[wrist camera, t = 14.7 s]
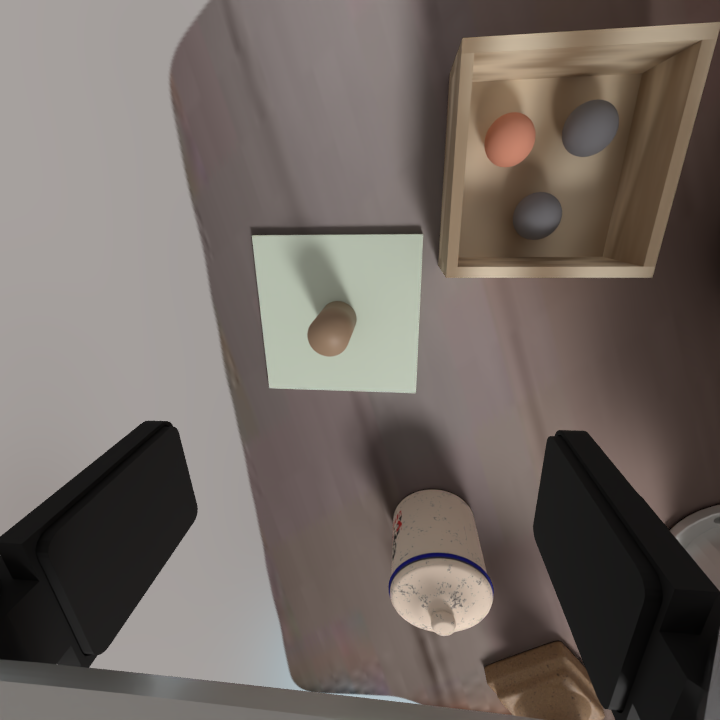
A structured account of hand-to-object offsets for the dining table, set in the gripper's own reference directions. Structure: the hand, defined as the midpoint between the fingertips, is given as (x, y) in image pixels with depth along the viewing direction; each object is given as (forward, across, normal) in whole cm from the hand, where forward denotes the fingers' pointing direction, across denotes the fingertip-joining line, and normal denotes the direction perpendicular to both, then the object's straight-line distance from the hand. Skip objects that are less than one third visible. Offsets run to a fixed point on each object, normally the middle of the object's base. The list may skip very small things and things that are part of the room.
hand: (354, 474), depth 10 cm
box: (+24, -11, -8) cm, 28 cm away
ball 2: (+24, -10, -6) cm, 27 cm away
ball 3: (+24, -13, -11) cm, 29 cm away
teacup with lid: (+25, -5, +27) cm, 37 cm away
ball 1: (+24, -8, -10) cm, 27 cm away
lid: (+25, +5, +2) cm, 26 cm away
